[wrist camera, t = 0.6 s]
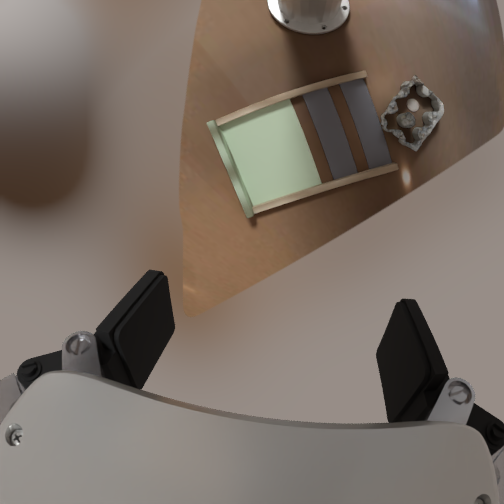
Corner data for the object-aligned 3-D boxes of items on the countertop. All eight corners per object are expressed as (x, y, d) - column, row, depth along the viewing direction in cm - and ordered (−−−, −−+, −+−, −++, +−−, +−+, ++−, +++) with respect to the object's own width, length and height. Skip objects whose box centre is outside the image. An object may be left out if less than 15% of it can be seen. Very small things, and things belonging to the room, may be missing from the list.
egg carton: (406, 75, 31) (416, 70, 27) (439, 107, 31) (451, 106, 28) (371, 121, 35) (379, 120, 32) (406, 152, 36) (416, 155, 32)
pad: (220, 126, 40) (219, 126, 39) (289, 99, 36) (289, 98, 36) (253, 205, 44) (253, 206, 44) (321, 183, 41) (321, 183, 41)
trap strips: (302, 94, 35) (302, 94, 35) (362, 78, 32) (363, 78, 32) (333, 179, 40) (333, 179, 40) (391, 163, 37) (392, 163, 37)
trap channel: (211, 123, 39) (206, 122, 37) (363, 71, 32) (367, 68, 30) (250, 213, 45) (247, 218, 43) (396, 168, 37) (401, 171, 35)
